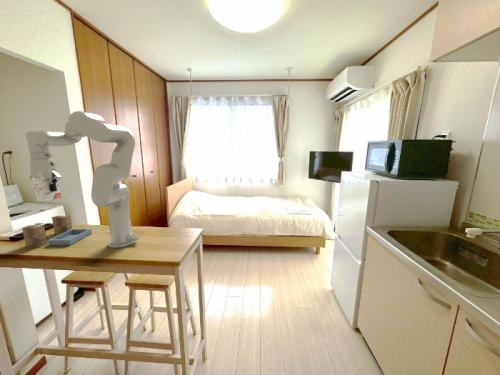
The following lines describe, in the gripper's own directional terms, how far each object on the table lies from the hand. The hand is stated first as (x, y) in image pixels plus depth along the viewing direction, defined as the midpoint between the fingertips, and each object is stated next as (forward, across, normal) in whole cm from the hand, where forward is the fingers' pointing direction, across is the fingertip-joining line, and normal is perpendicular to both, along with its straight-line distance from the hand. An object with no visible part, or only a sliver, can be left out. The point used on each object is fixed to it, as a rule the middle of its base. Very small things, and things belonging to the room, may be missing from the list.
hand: (47, 190), depth 110 cm
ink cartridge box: (+5, 0, 0) cm, 5 cm away
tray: (+27, -8, +1) cm, 28 cm away
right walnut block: (+27, +4, -8) cm, 28 cm away
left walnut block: (+27, +4, +8) cm, 28 cm away
